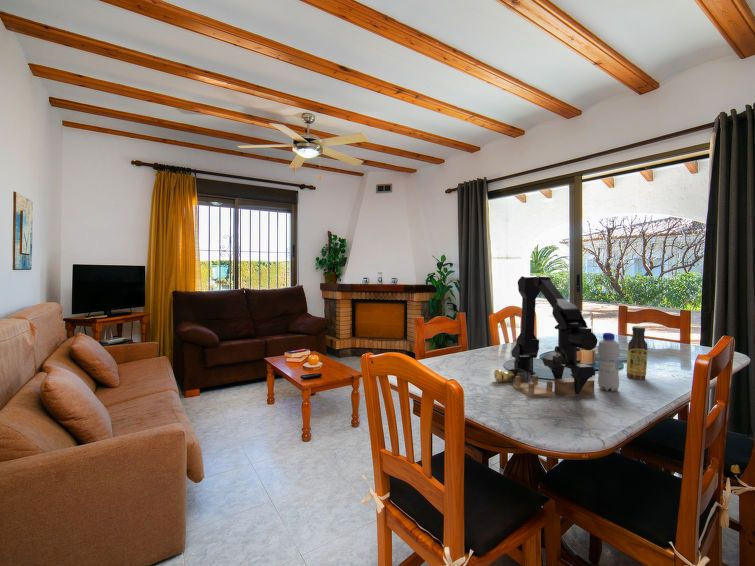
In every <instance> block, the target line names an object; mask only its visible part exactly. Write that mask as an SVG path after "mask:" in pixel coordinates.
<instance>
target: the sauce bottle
mask: <svg viewBox="0 0 755 566" xmlns="http://www.w3.org/2000/svg"><path fill="white" fill-rule="evenodd" d="M631 329H632V336H631V339H630V340H629V342H628V344H627V345H628V347H627V348H628V349H627V358H626V377H627V378H629V379H633V380H642V381H643V380H646V376H647V367H648V366H647V365H648V343H647V342H646V340H645V332H646V327H643V326H632V328H631Z"/></svg>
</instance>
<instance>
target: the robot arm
mask: <svg viewBox="0 0 755 566" xmlns="http://www.w3.org/2000/svg"><path fill="white" fill-rule="evenodd" d="M517 289H518V293H519V295H520V296H521V299H522V300H521V302H522V303H521V321H520V322H521V325H520V326H521V327H520V328H521V329H520V333H519V335H518V336H517V338H516V340H515V346H513V348H512V349H511V351H510V354H511V357H513V358H514V362H513V363H514V365H513V366H514V367H513V368H520V369H522V370H525V371H527V372H529V373H530V375H535V374H536V372H535V371H534V359H537V358H538V355H539V354H538V353H539V350H540V339H538V338H537V337H536V335H535V323H536V322H535V321H536V299H537V297H538V296H539V294H540V293H542V295H543V296H544V298H545V300H546V301H547V302H548V304H549V305H550V306H551V308H552V314H551V315H552V316H553V318H554V319H555V322H556V323H557V325H555V326H554V329H555V330H558V331H557V332H558V334H557V338H558V339H557V345H554V346H555V347H554V350H553V351H551V352H548V353H545V354H544V355H542V356H541V358H542V359H541V360H542V363H543V365H544V366H545V367H548V368H549V369H550V370H551V372H552V375H553V378H554V379H563V375H564V371H565V368H568V369H570V371H571V374H570V376H571V378H574V388H575V394H579V393H580V391H581V390H582V388H583V386H584V385H585V383H586V382H587V380H588V379H589V378H590V379H591V378H593V377H594V376H596V368H595V367H594V366H592V365H590V364H587V363H581V360H580V359H578V352H581V350H585V351H592V350H594V349H595V348H596V347H597V346H598V338H597V336H596V334H595V333H594V332H592V330H593V329H592V328H590V327H588V325H587V322H586V320H585V319H584V315H583V314H582V312H581V309H580V308H578V306H576V305H575V304H574V303H572V302H570V301H568V300H566V298H565V297H564V295H562V294H561V292H560V291H559V290H558V288H557V287H556V285H555V284H554V283H553V281H552V280H551V277H550V276H548V275H525V276H524V275H523V276H521V277H520V278H519V279H518V280H517ZM534 373H535V374H534Z"/></svg>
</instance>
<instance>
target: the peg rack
mask: <svg viewBox="0 0 755 566" xmlns="http://www.w3.org/2000/svg"><path fill="white" fill-rule="evenodd" d="M531 375H532V377H531V380H532V381H530V382H526V383H521V377H519V376H515V379H514V382H515V383H513V384H512V385H513V388H515V389H516V390H519V391H521V392H522V393H523V394H525V395H527V396H529V397H530V398H533V399H536V398H546V397H550V398H551V397H556V393H555V392H554V390H553V389H554V388H553V386H554V383H553V381H550V380H548V381H546V387H544V386H542V385H540V384H539V375H537V374H531Z"/></svg>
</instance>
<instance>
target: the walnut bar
mask: <svg viewBox="0 0 755 566" xmlns="http://www.w3.org/2000/svg"><path fill="white" fill-rule="evenodd" d="M553 386H554V388H553V389H554V390H553V392H555V395H558V396H560V397H562V398H564V397H577V396H579V397H580V396H592V395H595V379H593V378H591V377H590V378H589V379H588V380H587V382H586V383H585V385H584V386H583V388H582V390H581V391H580V393H579V394H575V388H574V378H573V377H565V378H563V377H562V379H554V383H553Z"/></svg>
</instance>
